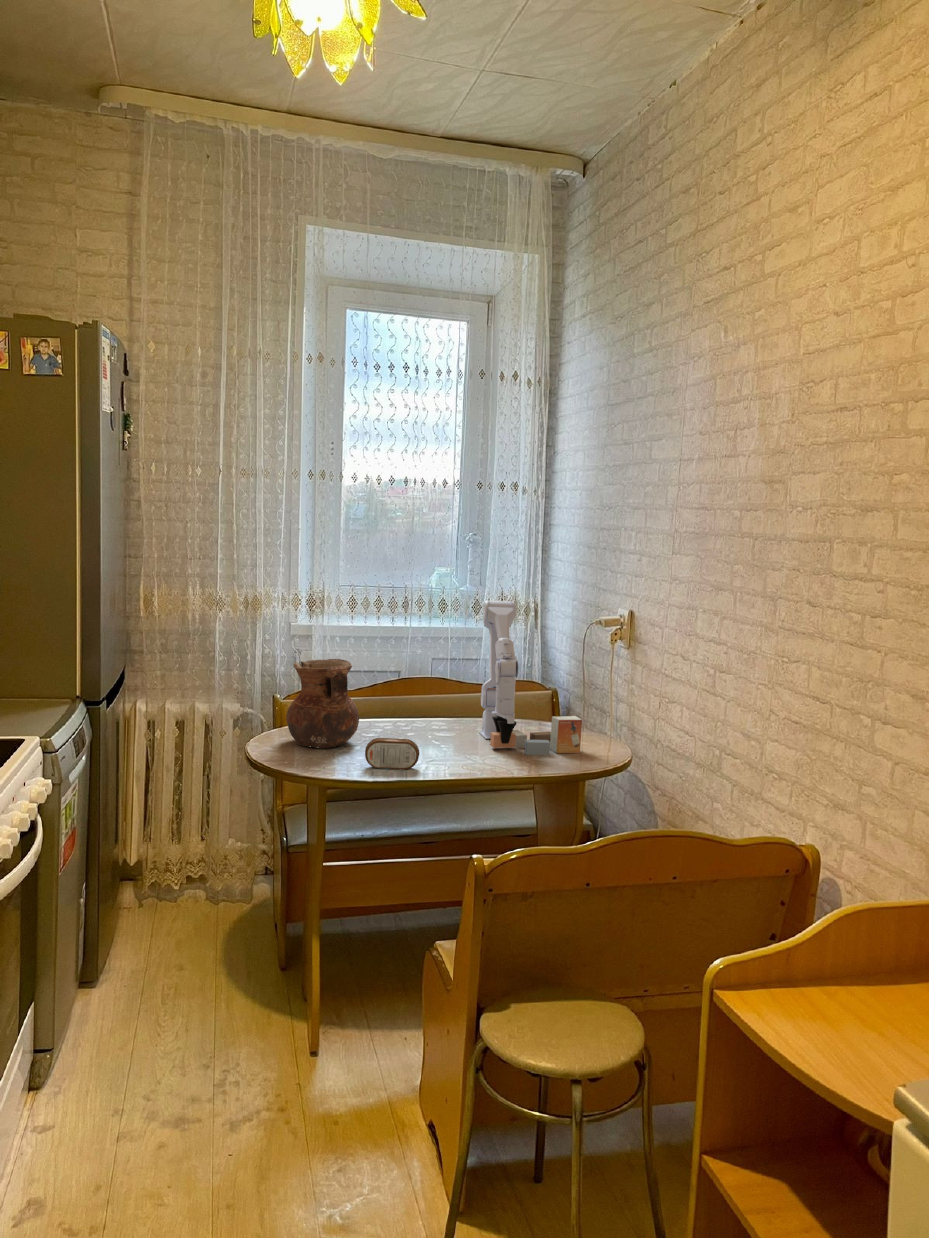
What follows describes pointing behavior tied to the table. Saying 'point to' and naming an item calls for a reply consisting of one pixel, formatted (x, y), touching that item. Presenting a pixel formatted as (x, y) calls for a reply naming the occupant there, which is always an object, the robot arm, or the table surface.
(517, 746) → the grey brick
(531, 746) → the slate brick
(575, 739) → the small box
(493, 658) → the robot arm
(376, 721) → the table surface
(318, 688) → the jug
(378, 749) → the tin
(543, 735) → the walnut brick
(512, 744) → the terracotta brick
